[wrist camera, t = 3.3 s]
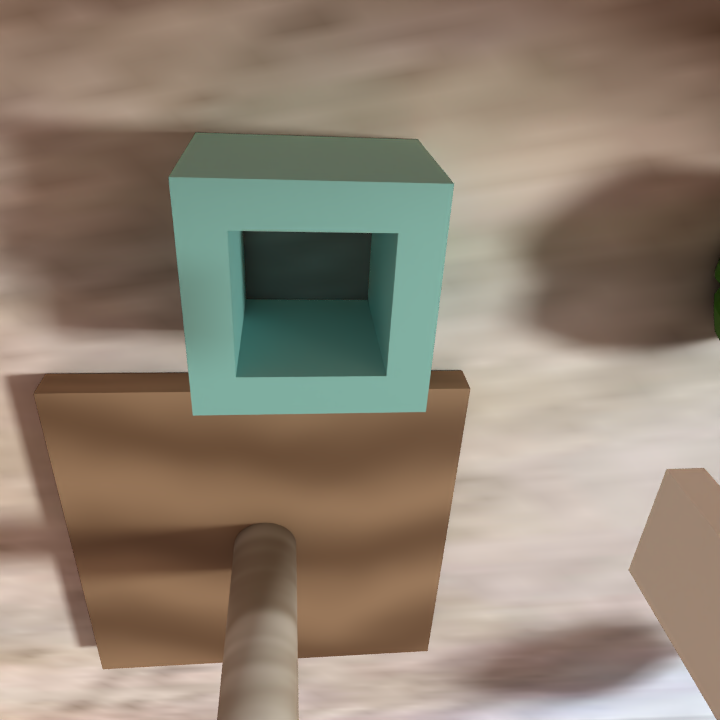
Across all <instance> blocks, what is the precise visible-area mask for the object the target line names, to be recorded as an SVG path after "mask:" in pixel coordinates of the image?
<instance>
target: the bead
mask: <svg viewBox="0 0 720 720" xmlns="http://www.w3.org/2000/svg"><path fill="white" fill-rule="evenodd" d="M168 178H169V187H170V197H171V207H172V217H173V226H174V236H175V246H176V256H177V266H178V275H179V285H180V295H181V305H182V314H183V324H184V334H185V344H186V353H187V363H188V373H189V383H190V392H191V402H192V412H193V416H196V415H261V414H327V413H392V412H426V407H427V399H428V391H429V383H430V375H431V366H432V358H433V350H434V342H435V334H436V326H437V318H438V310H439V302H440V294H441V286H442V278H443V270H444V262H445V253H446V245H447V237H448V229H449V221H450V213H451V205H452V197H453V189H454V183H453V182H452V181H451V179H450V178H449V177H448V176H447V175H446V173H445V172H444V171H443V170H442V168H441V167H440V166H439V165H438V163H437V162H436V161H435V160H434V159H433V157H432V156H431V155H430V154H429V152H428V151H427V150H426V149H425V148H424V146H423V145H422V144H421V143H420V141H419V140H418V139H387V138H355V137H323V136H291V135H259V134H227V133H195V135H194V136H193V138H192V140H191V141H190V143H189V144H188V146H187V148H186V149H185V151H184V153H183V154H182V156H181V157H180V159H179V161H178V162H177V164H176V166H175V167H174V169H173V170H172V172H171V174H170V175H169V177H168ZM243 231H281V232H347V233H372V237H371V254H370V270H369V287H368V300H284V299H246V283H245V261H244V239H243Z"/></svg>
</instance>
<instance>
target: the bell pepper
mask: <svg viewBox="0 0 720 720" xmlns="http://www.w3.org/2000/svg"><path fill="white" fill-rule="evenodd" d="M715 278H716V280H717V281H718V282H719V283H720V259H719V262H718V264H717V267H716V269H715ZM714 327H715V332H716V334H717V336H718V338H719V340H720V288H719V289H718V290H717V292H716V293H715V294H714Z"/></svg>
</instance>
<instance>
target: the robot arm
mask: <svg viewBox="0 0 720 720" xmlns="http://www.w3.org/2000/svg"><path fill="white" fill-rule="evenodd" d="M629 571H630V573H631V575H632V577H633V578H634V580H635V582H636V583H637V585H638V587H639V588H640V590H641V592H642V594H643V595H644V597H645V599H646V600H647V602H648V604H649V605H650V607H651V609H652V610H653V612H654V614H655V616H656V617H657V619H658V621H659V622H660V624H661V626H662V627H663V629H664V631H665V633H666V634H667V636H668V638H669V639H670V641H671V643H672V644H673V646H674V648H675V650H676V651H677V653H678V655H679V656H680V658H681V660H682V661H683V663H684V665H685V667H686V668H687V670H688V672H689V673H690V675H691V677H692V678H693V680H694V682H695V684H696V685H697V687H698V689H699V690H700V692H701V694H702V695H703V697H704V699H705V701H706V702H707V704H708V706H709V707H710V709H711V711H712V712H713V714H714V716H715V718H716V719H717V720H720V486H719V485H718V484H717V482H716V481H715V480H714V479H713V478H712V477H711V475H710V474H709V473H708V472H707V471H706V470H705V469H704V468H691V469H667V470H666V472H665V475H664V478H663V480H662V483H661V486H660V488H659V491H658V493H657V496H656V499H655V501H654V504H653V507H652V509H651V512H650V515H649V517H648V520H647V523H646V525H645V528H644V531H643V533H642V536H641V539H640V541H639V544H638V547H637V549H636V552H635V555H634V557H633V560H632V563H631V565H630V568H629Z"/></svg>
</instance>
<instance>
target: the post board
mask: <svg viewBox="0 0 720 720" xmlns="http://www.w3.org/2000/svg"><path fill="white" fill-rule="evenodd" d="M469 393H470V387H469V385H468V383H467V380H466V378H465V376H464V374H463V371H431V375H430V383H429V391H428V399H427V407H426V412H392V413H327V414H261V415H196V416H193V412H192V402H191V392H190V383H189V373H110V374H45V376H44V377H43V379H42V381H41V382H40V384H39V385H38V387H37V389H36V390H35V392H34V398H35V402H36V406H37V410H38V414H39V418H40V422H41V426H42V430H43V434H44V438H45V442H46V446H47V450H48V454H49V458H50V462H51V466H52V470H53V473H54V477H55V481H56V485H57V489H58V493H59V497H60V501H61V505H62V509H63V513H64V517H65V521H66V525H67V529H68V533H69V537H70V541H71V545H72V549H73V553H74V557H75V561H76V565H77V569H78V573H79V577H80V581H81V584H82V588H83V592H84V596H85V600H86V604H87V608H88V612H89V616H90V620H91V624H92V628H93V632H94V636H95V640H96V644H97V648H98V652H99V656H100V660H101V664H102V668H103V669H115V668H133V667H151V666H168V665H186V664H204V663H222V662H223V665H222V675H221V686H220V696H219V706H218V717H217V720H299V714H298V658H310V657H328V656H346V655H363V654H381V653H399V652H417V651H428V644H429V638H430V632H431V626H432V620H433V614H434V608H435V602H436V595H437V589H438V583H439V577H440V571H441V565H442V559H443V553H444V546H445V540H446V534H447V528H448V522H449V516H450V510H451V504H452V497H453V491H454V485H455V479H456V473H457V467H458V461H459V455H460V448H461V442H462V436H463V430H464V424H465V418H466V412H467V406H468V399H469Z"/></svg>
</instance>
